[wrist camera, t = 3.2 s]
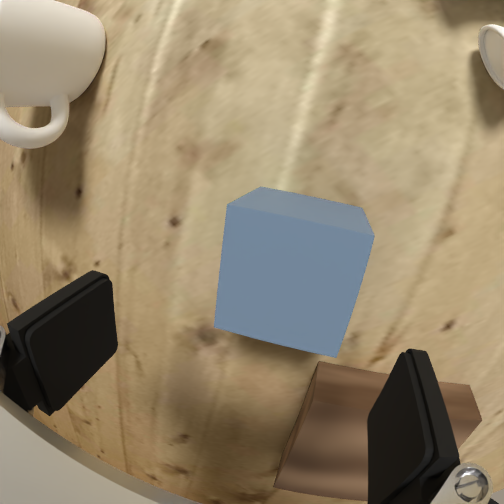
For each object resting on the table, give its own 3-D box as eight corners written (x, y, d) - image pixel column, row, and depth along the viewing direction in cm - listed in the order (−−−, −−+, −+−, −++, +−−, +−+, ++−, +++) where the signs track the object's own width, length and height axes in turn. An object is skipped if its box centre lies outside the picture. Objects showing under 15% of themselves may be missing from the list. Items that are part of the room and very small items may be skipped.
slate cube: (260, 186, 18) (227, 204, 13) (362, 207, 17) (374, 235, 11) (247, 278, 20) (213, 327, 15) (338, 299, 19) (336, 357, 14)
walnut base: (318, 361, 21) (313, 400, 17) (469, 385, 18) (482, 419, 15) (281, 455, 25) (273, 487, 22) (401, 471, 23) (402, 502, 19)
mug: (129, 119, 19) (1, 121, 9) (58, 162, 21) (-47, 186, 12) (103, -4, 16) (6, -38, 6) (39, 49, 18) (-51, 42, 9)
